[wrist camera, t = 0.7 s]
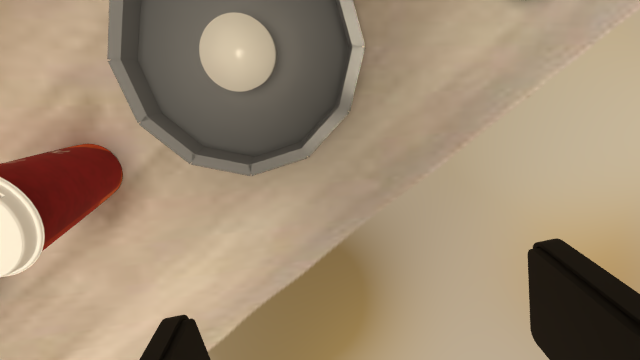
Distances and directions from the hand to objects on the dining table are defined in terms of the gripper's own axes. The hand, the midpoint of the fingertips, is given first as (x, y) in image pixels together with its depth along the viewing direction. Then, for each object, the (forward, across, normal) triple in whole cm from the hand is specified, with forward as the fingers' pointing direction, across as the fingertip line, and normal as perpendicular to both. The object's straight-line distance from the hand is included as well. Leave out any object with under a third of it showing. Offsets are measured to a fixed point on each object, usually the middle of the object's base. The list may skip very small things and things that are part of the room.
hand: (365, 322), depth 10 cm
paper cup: (+27, +23, -2) cm, 35 cm away
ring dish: (+26, +6, -9) cm, 29 cm away
